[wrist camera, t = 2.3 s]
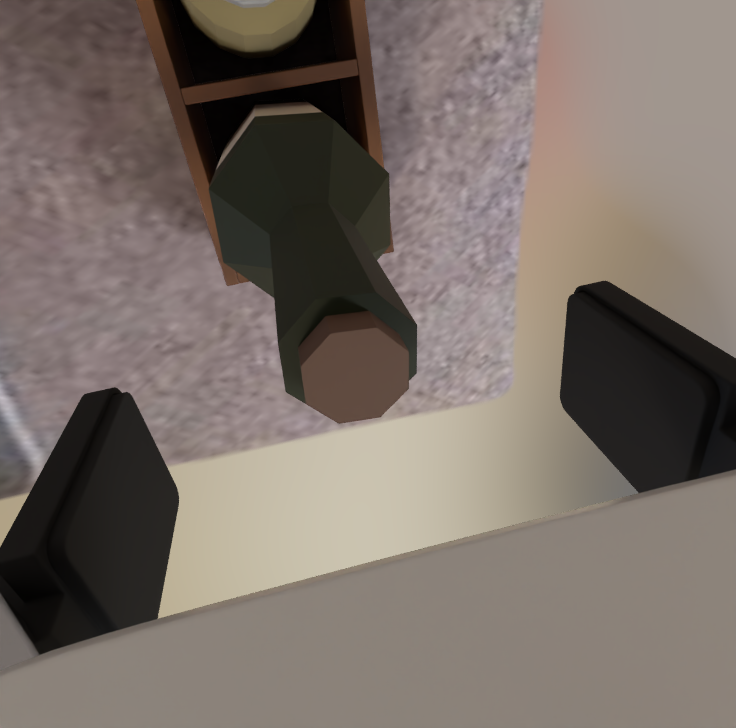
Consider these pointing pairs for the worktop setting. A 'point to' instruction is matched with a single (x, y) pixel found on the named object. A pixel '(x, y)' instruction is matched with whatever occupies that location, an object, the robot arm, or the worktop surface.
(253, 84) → the bottle rack
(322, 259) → the wine bottle
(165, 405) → the worktop surface
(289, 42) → the squeeze bottle
